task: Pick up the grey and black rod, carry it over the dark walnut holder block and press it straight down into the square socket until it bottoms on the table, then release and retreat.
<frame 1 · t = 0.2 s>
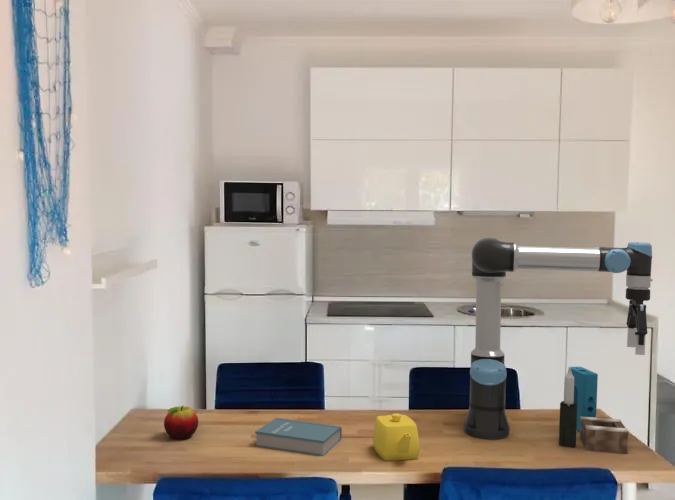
hand: (635, 350, 220), 28 cm above the table, fingers open, 13 cm apart
teapot: (396, 454, 196), on the table
block: (580, 428, 225), on the table
book: (299, 444, 205), on the table
fruit: (181, 437, 209), on the table
grey and black rod: (567, 445, 207), on the table
holder: (602, 445, 207), on the table
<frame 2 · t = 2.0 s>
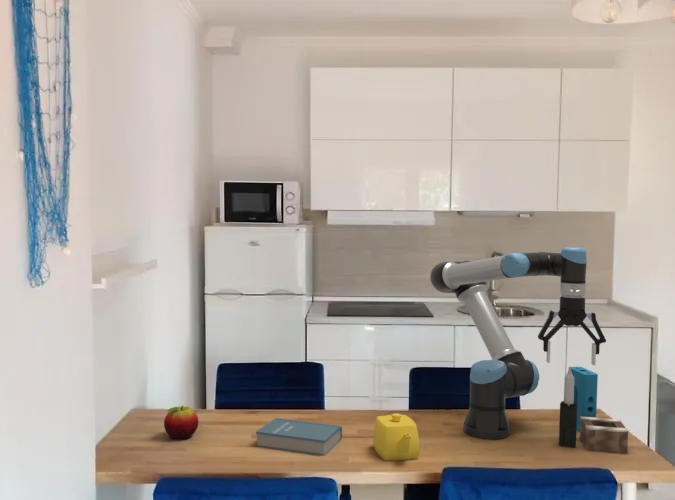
hand: (570, 363, 206), 26 cm above the table, fingers open, 13 cm apart
nothing on the table moved.
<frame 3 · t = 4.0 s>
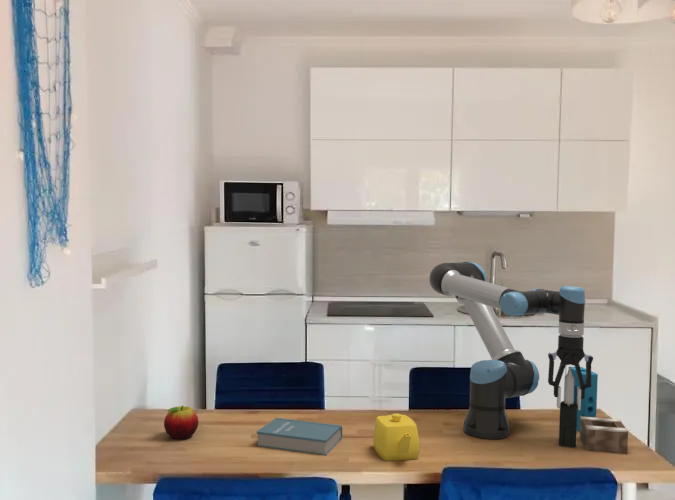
hand: (568, 407, 207), 12 cm above the table, fingers closed on grey and black rod, 5 cm apart
grey and black rod: (567, 445, 207), on the table, touching gripper
everything else where it was.
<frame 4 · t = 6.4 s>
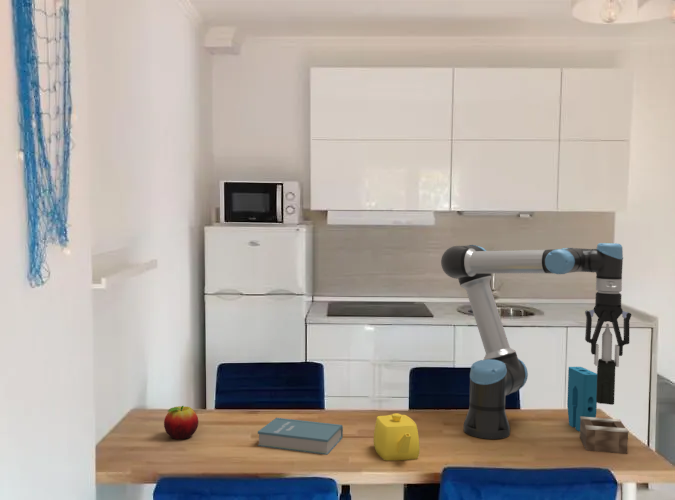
hand: (606, 365, 206), 26 cm above the table, fingers closed on grey and black rod, 5 cm apart
grey and black rod: (605, 402, 206), point 14 cm above the table, touching gripper
everything else where it was.
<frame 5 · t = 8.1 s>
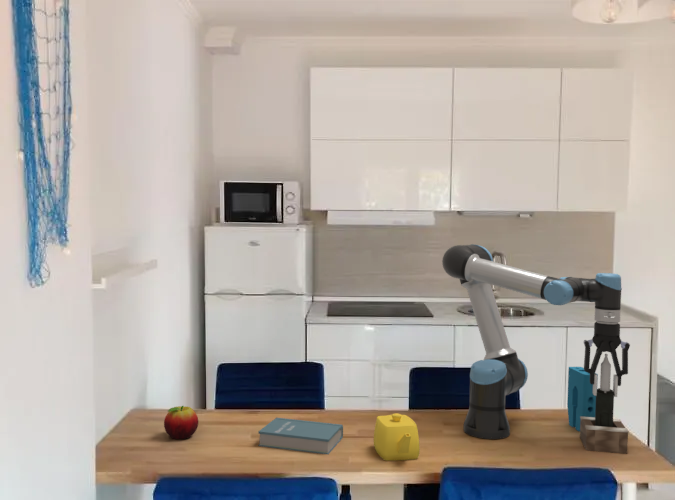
hand: (604, 395, 206), 16 cm above the table, fingers closed on grey and black rod, 5 cm apart
grey and black rod: (603, 432, 207), point 4 cm above the table, touching gripper
when the fingers open (12 cm above the table, at t = 9.3 s): grey and black rod stays where it is, resting in holder.
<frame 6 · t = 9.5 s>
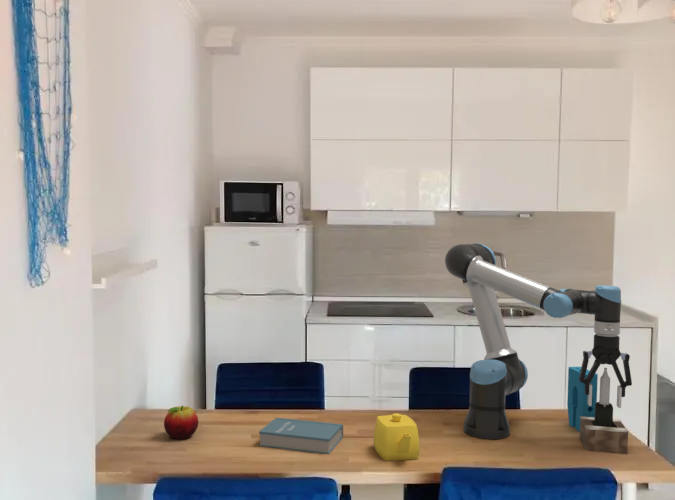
hand: (604, 405, 207), 13 cm above the table, fingers open, 8 cm apart
grey and black rod: (602, 446, 207), resting in holder
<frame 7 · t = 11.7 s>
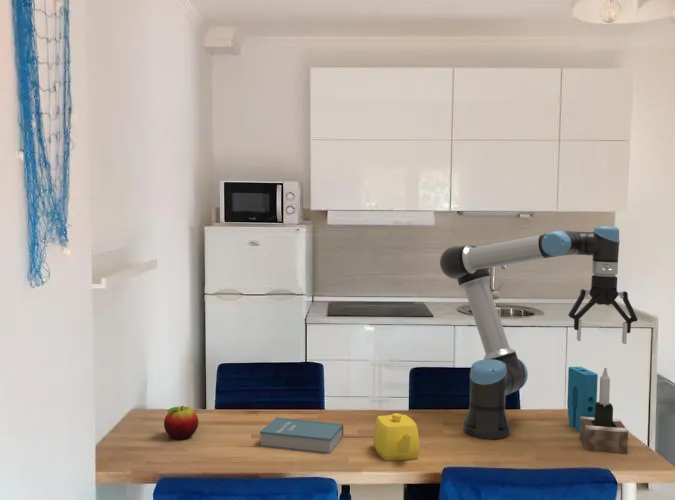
hand: (601, 341, 207), 33 cm above the table, fingers open, 13 cm apart
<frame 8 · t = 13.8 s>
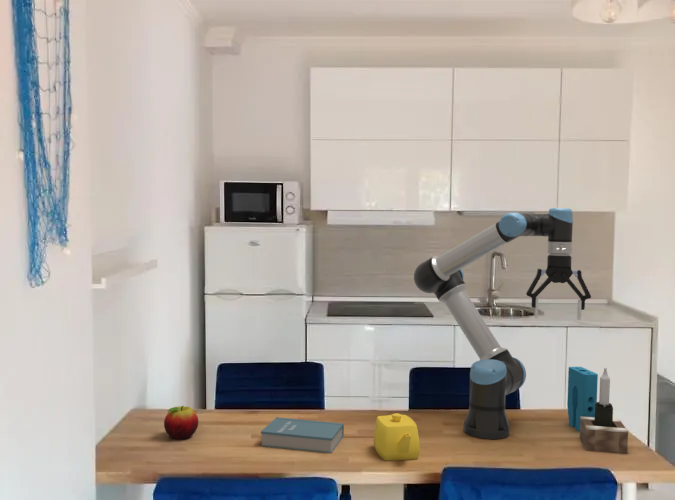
hand: (557, 318, 216), 39 cm above the table, fingers open, 13 cm apart
at the end: grey and black rod 0.0 cm from the holder (horizontally); grey and black rod touching table; grey and black rod tilted 0° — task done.
